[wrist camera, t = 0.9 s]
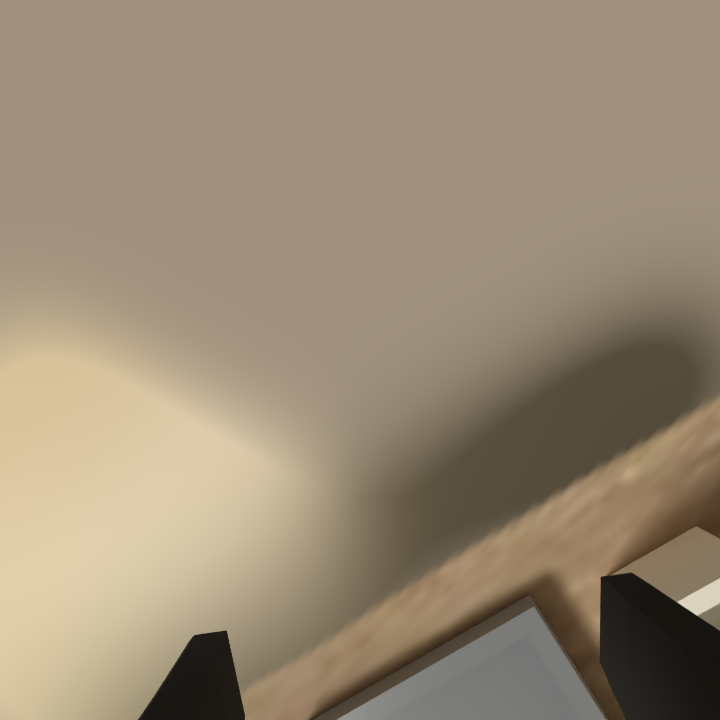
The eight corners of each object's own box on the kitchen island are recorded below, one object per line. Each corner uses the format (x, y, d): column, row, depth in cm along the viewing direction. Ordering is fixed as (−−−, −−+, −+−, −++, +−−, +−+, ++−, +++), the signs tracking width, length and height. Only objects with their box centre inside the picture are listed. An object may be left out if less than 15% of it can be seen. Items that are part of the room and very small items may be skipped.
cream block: (695, 525, 29) (755, 557, 23) (762, 621, 28) (842, 680, 22) (603, 578, 29) (638, 623, 23) (665, 673, 29) (718, 744, 23)
